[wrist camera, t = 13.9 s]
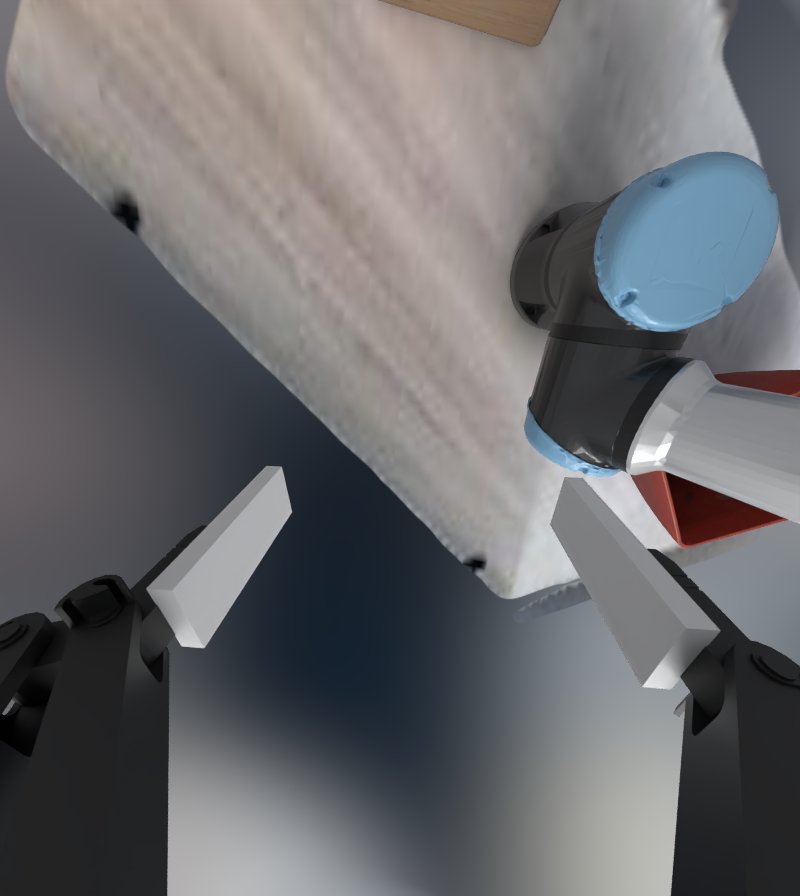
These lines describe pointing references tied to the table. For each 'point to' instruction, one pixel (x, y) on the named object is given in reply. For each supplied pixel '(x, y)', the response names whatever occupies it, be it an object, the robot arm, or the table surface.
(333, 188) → the table surface
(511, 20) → the block
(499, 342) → the table surface
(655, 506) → the plant pot
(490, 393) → the table surface
